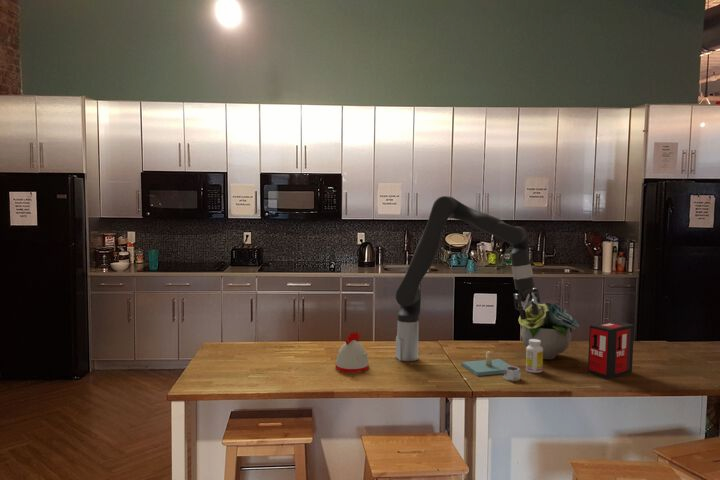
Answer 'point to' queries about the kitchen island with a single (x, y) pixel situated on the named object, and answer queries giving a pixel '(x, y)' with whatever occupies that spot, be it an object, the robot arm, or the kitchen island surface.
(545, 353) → the flower arrangement
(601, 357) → the cleaning product box
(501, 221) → the robot arm
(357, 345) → the grey beanie hat
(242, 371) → the kitchen island surface
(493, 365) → the post stand
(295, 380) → the kitchen island surface
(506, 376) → the steel hub
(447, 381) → the kitchen island surface
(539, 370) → the supplement bottle
